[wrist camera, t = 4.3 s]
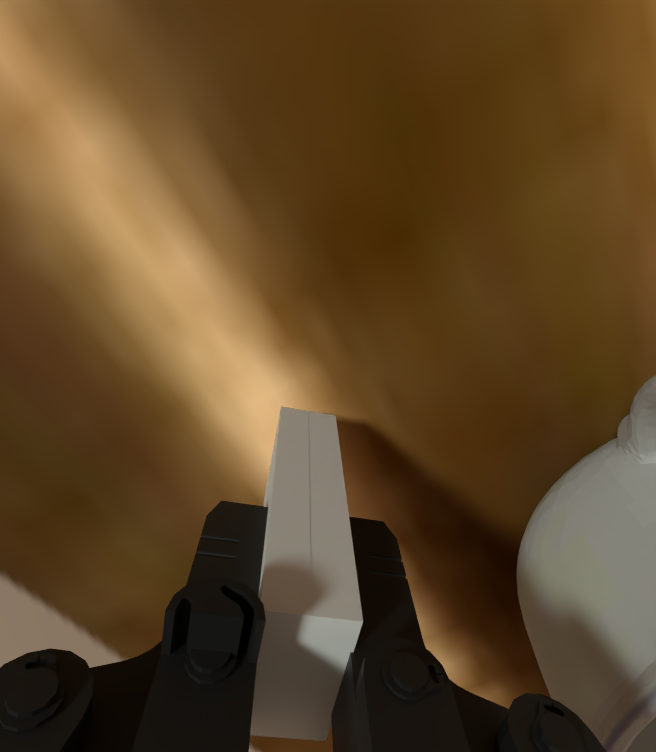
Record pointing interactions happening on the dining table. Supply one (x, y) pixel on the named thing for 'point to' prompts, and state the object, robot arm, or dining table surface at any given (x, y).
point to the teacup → (599, 584)
